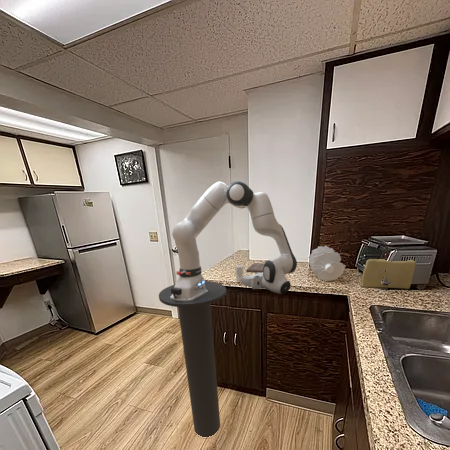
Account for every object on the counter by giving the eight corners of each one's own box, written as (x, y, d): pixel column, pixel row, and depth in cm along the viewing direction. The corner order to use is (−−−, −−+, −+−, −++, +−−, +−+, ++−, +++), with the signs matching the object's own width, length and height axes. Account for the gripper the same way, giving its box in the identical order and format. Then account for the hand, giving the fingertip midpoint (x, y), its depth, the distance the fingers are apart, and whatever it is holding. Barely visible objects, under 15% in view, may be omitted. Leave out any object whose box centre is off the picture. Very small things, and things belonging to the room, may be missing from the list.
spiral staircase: (319, 289, 146) (312, 274, 168) (350, 276, 140) (339, 263, 162) (308, 262, 140) (302, 251, 163) (339, 248, 135) (329, 239, 157)
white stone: (242, 281, 154) (241, 267, 151) (234, 280, 156) (234, 267, 153) (244, 279, 159) (244, 265, 155) (237, 278, 160) (236, 265, 157)
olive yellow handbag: (364, 289, 130) (369, 261, 125) (358, 283, 139) (362, 257, 134) (410, 289, 127) (417, 261, 121) (401, 283, 136) (407, 256, 130)
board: (274, 273, 167) (274, 271, 167) (246, 271, 174) (246, 269, 173) (279, 266, 184) (279, 264, 184) (253, 265, 191) (253, 263, 191)
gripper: (279, 271, 139) (263, 267, 150) (250, 278, 129) (235, 273, 141) (279, 282, 141) (263, 276, 152) (250, 290, 132) (236, 283, 143)
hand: (250, 275), depth 146 cm, fingers open, 8 cm apart
